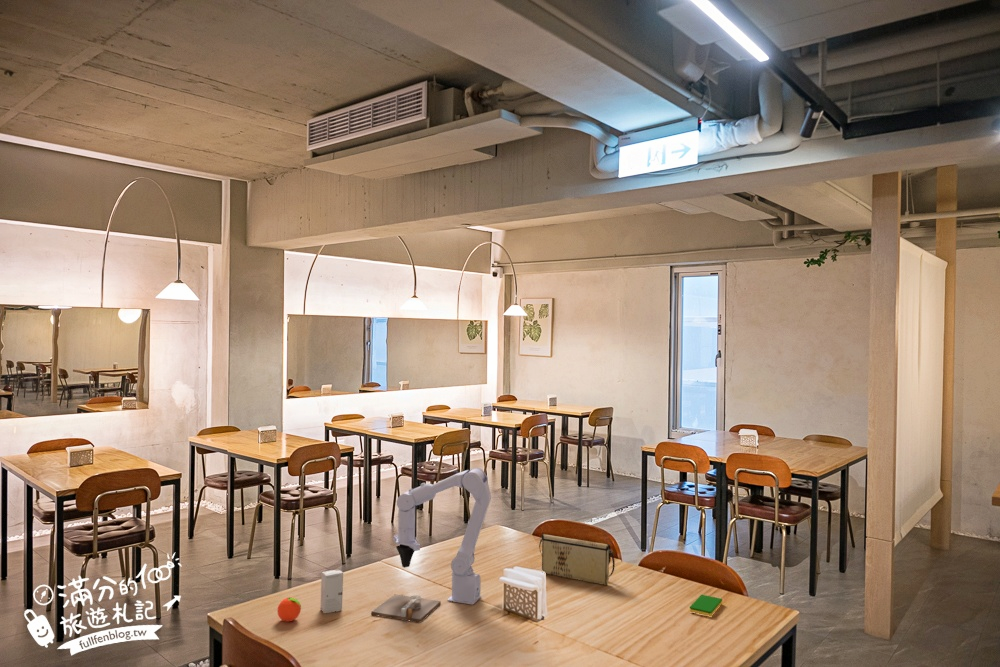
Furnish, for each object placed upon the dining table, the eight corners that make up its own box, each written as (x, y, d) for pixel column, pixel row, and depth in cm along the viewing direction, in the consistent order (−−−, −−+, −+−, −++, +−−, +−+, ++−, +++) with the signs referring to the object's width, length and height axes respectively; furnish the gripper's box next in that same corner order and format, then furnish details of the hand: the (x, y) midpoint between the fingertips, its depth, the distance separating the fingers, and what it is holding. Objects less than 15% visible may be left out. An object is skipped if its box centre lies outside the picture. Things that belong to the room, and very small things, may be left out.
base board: (440, 604, 222) (440, 594, 222) (419, 622, 206) (419, 612, 206) (394, 597, 227) (394, 587, 227) (371, 615, 212) (371, 604, 212)
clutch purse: (616, 582, 246) (617, 541, 246) (610, 587, 240) (611, 546, 240) (543, 568, 260) (544, 529, 260) (536, 573, 254) (536, 534, 254)
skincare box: (324, 614, 212) (325, 575, 212) (319, 609, 215) (320, 571, 216) (343, 610, 215) (343, 572, 215) (338, 605, 219) (339, 568, 219)
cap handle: (411, 602, 219) (412, 595, 219) (422, 603, 218) (422, 596, 218) (398, 616, 208) (398, 608, 208) (408, 617, 207) (409, 609, 207)
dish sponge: (722, 605, 225) (722, 598, 225) (711, 619, 214) (711, 611, 214) (701, 601, 229) (701, 594, 229) (689, 614, 218) (689, 606, 218)
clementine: (308, 618, 208) (308, 595, 208) (294, 627, 202) (294, 603, 202) (286, 614, 211) (287, 592, 211) (272, 623, 204) (272, 600, 204)
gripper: (386, 524, 234) (385, 563, 233) (407, 533, 223) (406, 574, 222) (403, 521, 238) (402, 559, 238) (425, 530, 227) (424, 570, 227)
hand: (405, 566), depth 230 cm, fingers closed
